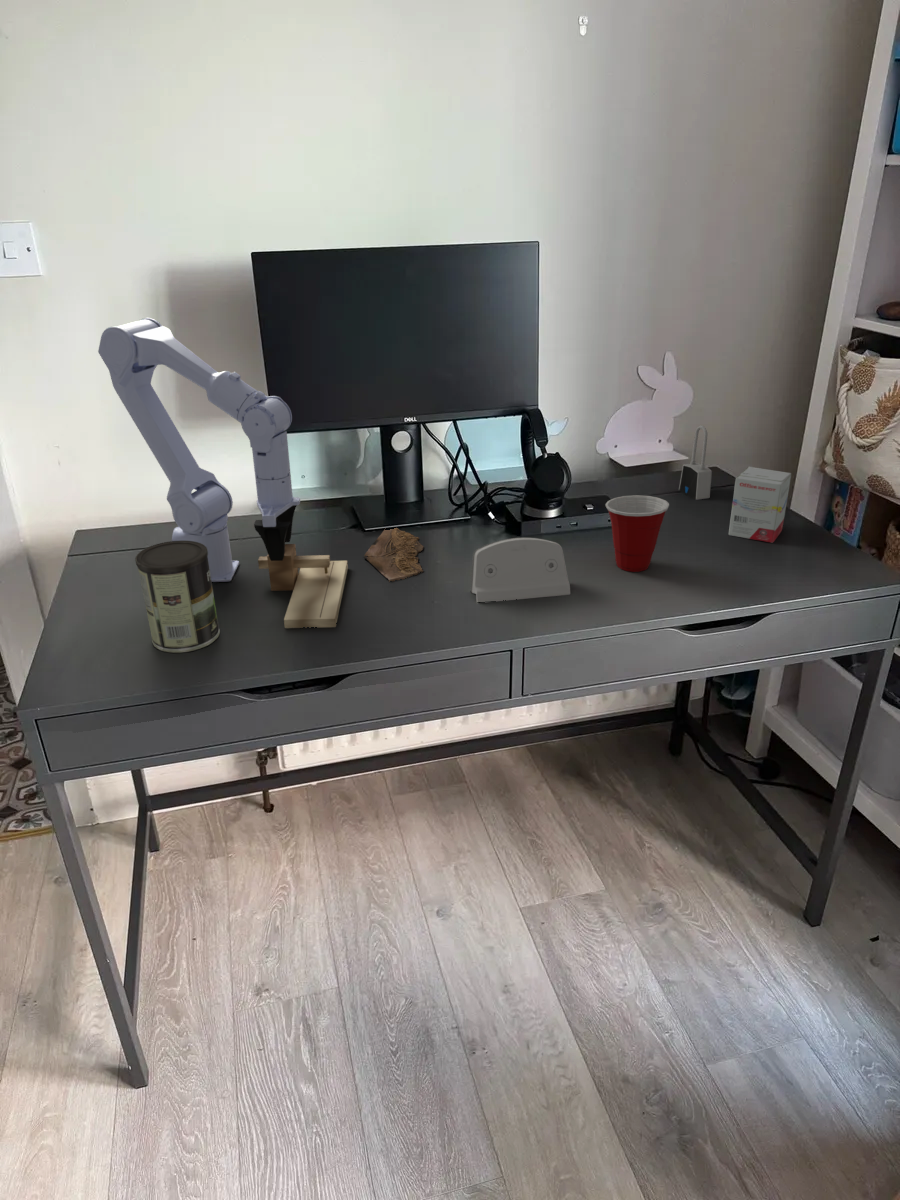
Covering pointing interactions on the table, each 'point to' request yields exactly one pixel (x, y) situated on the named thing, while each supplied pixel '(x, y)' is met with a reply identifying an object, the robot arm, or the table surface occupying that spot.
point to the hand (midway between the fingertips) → (280, 550)
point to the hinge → (519, 570)
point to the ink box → (759, 504)
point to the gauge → (290, 567)
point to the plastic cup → (635, 529)
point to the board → (317, 597)
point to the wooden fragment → (395, 554)
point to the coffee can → (178, 595)
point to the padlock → (696, 473)
